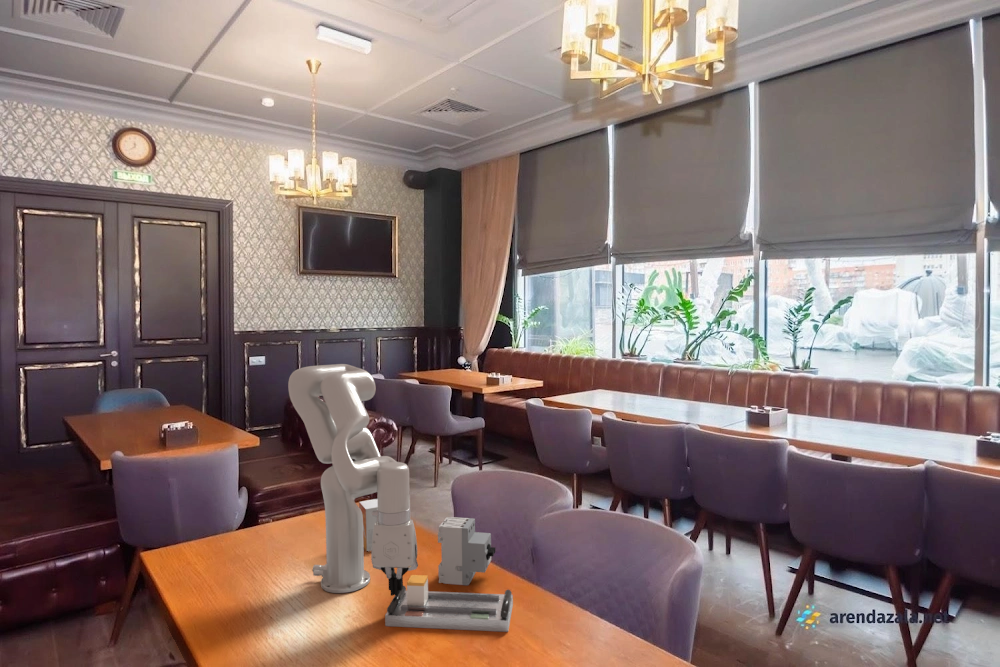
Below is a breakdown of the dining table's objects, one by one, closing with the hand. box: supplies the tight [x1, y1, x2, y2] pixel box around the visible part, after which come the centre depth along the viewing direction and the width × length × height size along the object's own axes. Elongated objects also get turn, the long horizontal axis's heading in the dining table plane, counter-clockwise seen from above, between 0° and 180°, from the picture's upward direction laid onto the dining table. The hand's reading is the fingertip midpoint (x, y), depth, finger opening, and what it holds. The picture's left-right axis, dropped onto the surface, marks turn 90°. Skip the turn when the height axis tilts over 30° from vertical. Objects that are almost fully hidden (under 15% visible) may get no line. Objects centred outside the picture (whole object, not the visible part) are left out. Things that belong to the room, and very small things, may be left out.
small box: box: [358, 498, 378, 552], centre depth 178 cm, size 8×6×13 cm
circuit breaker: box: [437, 516, 496, 586], centre depth 154 cm, size 8×14×15 cm, turn 78°
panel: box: [384, 585, 514, 633], centre depth 136 cm, size 28×12×4 cm, turn 84°
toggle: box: [406, 574, 429, 606], centre depth 137 cm, size 4×4×6 cm
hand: (395, 592), depth 137 cm, fingers closed
